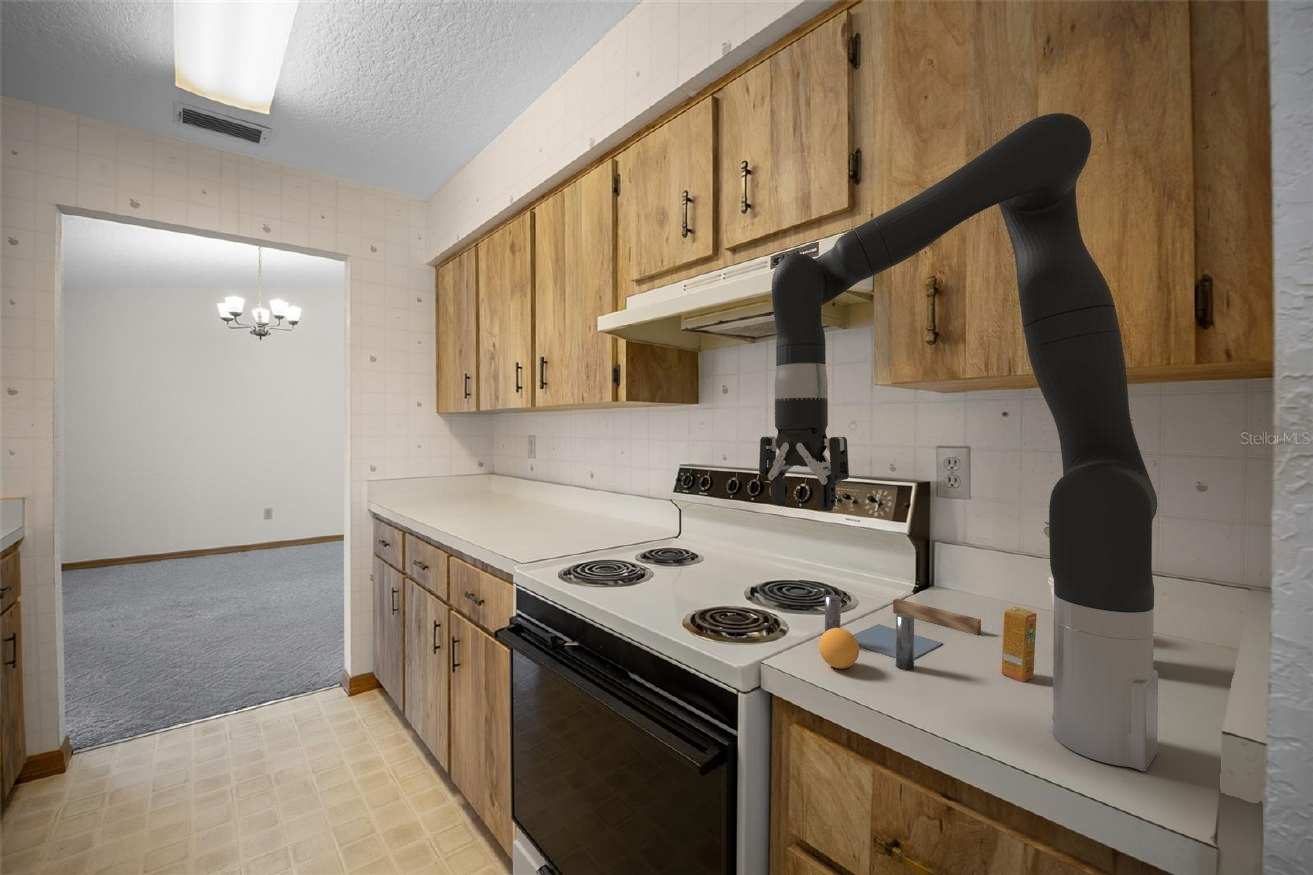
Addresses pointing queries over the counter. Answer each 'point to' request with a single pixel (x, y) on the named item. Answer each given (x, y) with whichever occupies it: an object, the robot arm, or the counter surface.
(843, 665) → the ball
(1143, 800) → the counter surface
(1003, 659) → the supplement box
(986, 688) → the counter surface
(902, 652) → the post inner
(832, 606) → the post outer
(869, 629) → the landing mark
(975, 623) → the wall
